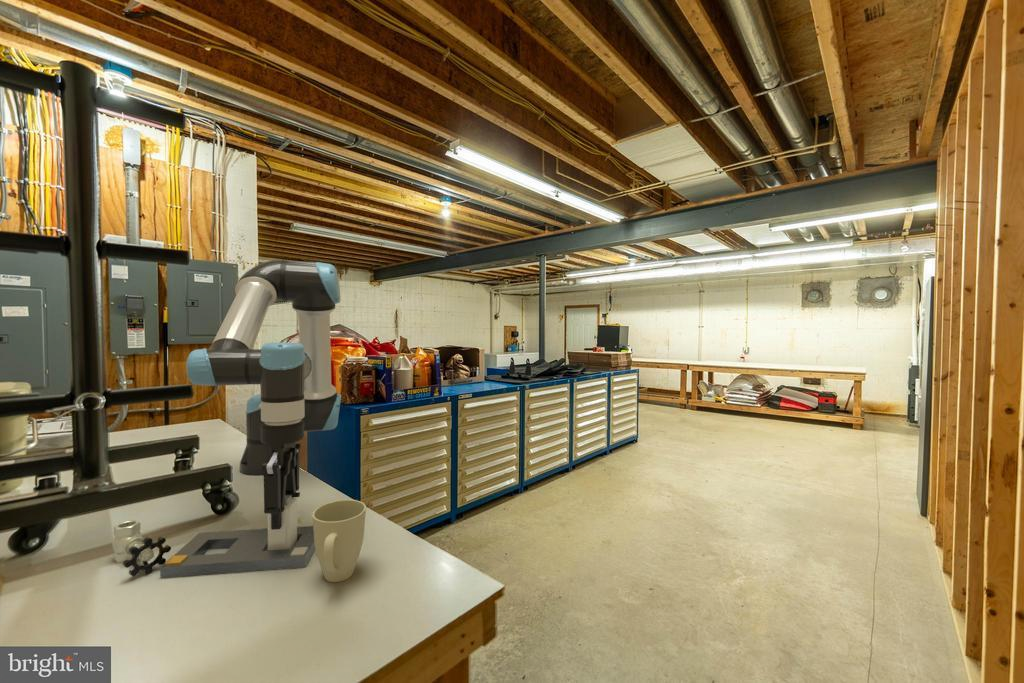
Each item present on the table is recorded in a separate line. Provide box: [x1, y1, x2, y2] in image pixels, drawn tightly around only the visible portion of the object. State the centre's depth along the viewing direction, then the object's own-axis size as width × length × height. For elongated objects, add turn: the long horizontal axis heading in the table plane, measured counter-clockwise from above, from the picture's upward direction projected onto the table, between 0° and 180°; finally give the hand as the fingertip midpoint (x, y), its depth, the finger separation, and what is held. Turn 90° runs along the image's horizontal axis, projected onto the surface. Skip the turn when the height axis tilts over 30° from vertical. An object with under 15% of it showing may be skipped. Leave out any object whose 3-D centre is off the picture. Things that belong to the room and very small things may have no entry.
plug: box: [267, 495, 298, 550], centre depth 81 cm, size 4×4×11 cm
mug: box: [312, 499, 367, 583], centre depth 73 cm, size 11×10×12 cm
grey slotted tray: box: [159, 525, 316, 579], centre depth 80 cm, size 12×24×2 cm, turn 100°
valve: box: [111, 519, 172, 577], centre depth 76 cm, size 7×7×12 cm
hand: (282, 536), depth 81 cm, fingers closed on plug, 4 cm apart
